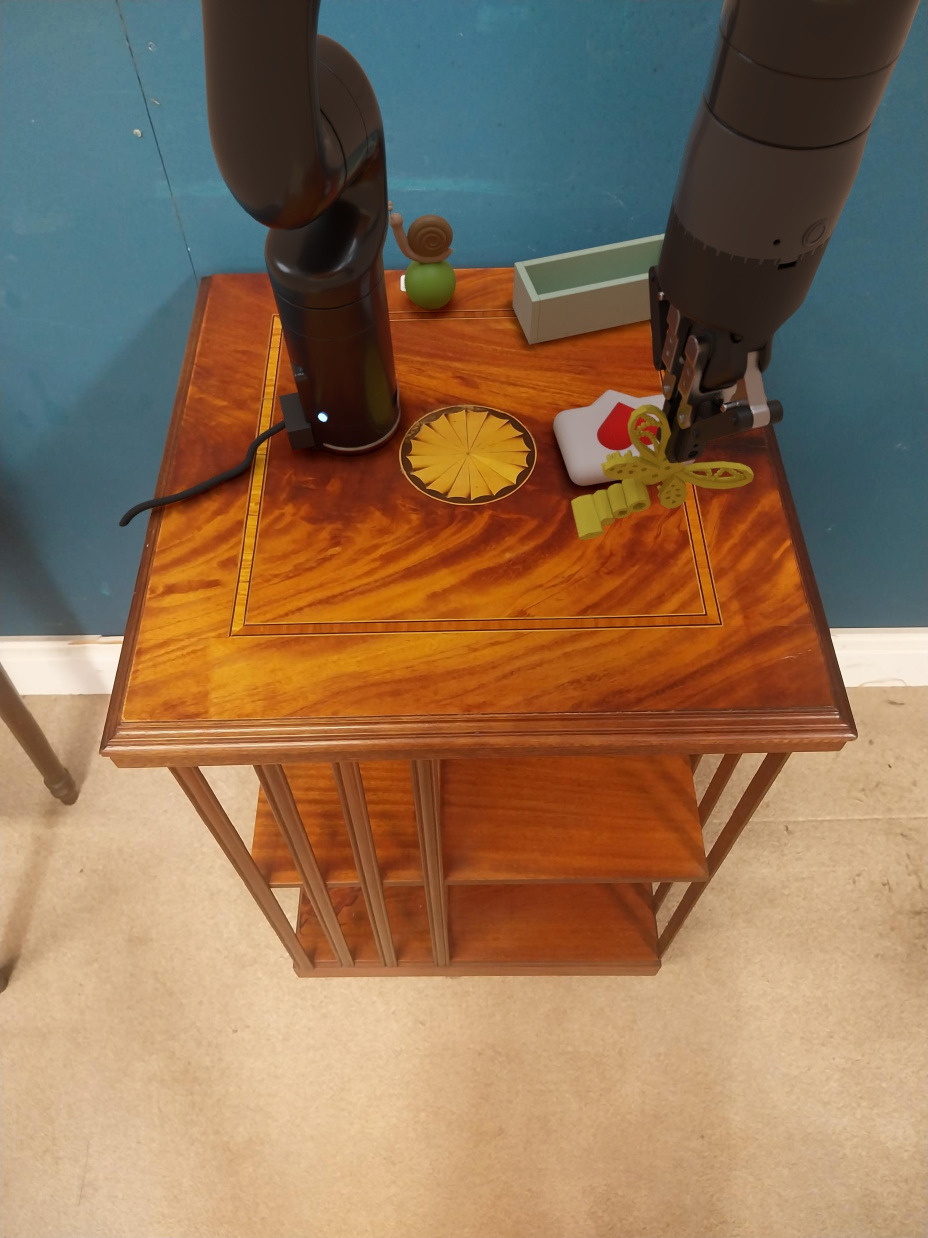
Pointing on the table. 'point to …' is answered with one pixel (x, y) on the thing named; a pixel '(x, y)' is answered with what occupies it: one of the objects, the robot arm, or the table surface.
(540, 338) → the slot tray
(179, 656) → the table surface
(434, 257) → the snail figurine
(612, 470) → the decorative insect
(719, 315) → the robot arm
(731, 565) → the table surface
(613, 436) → the icon
